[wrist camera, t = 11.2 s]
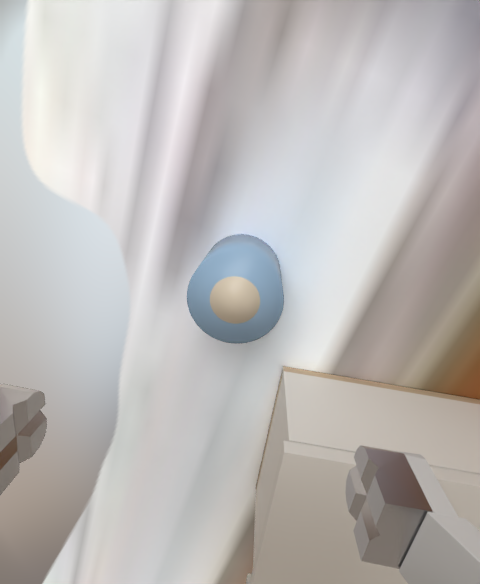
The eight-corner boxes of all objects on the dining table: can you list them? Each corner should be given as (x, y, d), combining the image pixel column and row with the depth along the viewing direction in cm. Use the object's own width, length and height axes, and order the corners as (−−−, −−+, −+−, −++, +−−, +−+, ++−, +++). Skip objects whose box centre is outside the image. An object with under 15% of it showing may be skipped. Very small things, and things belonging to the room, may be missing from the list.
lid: (282, 424, 19) (284, 452, 17) (582, 476, 18) (619, 510, 16) (246, 579, 23) (244, 615, 21) (491, 624, 22) (512, 665, 20)
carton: (283, 366, 24) (289, 439, 17) (505, 403, 24) (595, 493, 17) (256, 485, 28) (252, 581, 22) (444, 519, 28) (498, 626, 21)
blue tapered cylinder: (208, 228, 21) (191, 245, 16) (287, 241, 21) (292, 262, 16) (200, 300, 23) (182, 335, 18) (272, 312, 23) (273, 350, 18)
